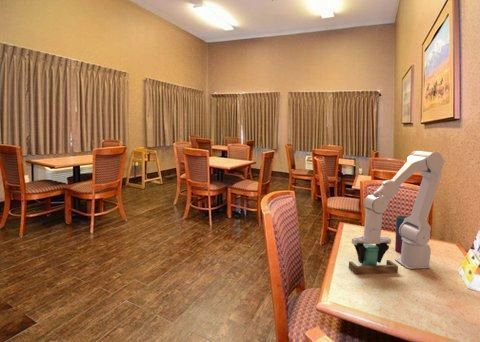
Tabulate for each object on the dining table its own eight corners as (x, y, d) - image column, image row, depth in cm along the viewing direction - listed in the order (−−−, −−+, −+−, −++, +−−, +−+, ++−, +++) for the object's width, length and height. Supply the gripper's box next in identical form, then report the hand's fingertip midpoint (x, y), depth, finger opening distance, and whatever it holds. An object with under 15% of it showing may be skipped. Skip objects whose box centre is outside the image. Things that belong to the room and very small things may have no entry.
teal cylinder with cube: (368, 260, 117) (369, 241, 116) (380, 270, 109) (382, 249, 108) (354, 261, 116) (356, 241, 115) (366, 270, 108) (368, 250, 107)
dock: (388, 266, 113) (389, 260, 112) (397, 272, 108) (398, 266, 107) (348, 267, 110) (349, 261, 110) (355, 274, 106) (356, 267, 105)
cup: (413, 255, 123) (417, 220, 121) (395, 253, 125) (399, 219, 123) (407, 248, 130) (411, 216, 128) (390, 247, 131) (394, 214, 129)
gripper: (384, 223, 114) (380, 256, 116) (349, 224, 112) (346, 257, 114) (396, 229, 107) (392, 265, 109) (358, 230, 105) (355, 266, 107)
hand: (369, 262), depth 111 cm, fingers open, 6 cm apart
